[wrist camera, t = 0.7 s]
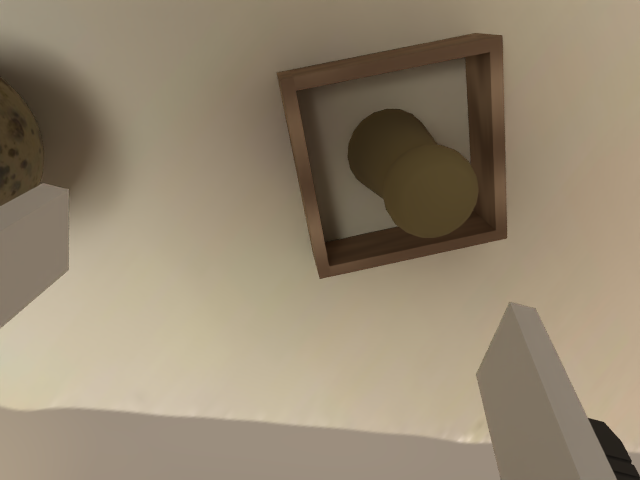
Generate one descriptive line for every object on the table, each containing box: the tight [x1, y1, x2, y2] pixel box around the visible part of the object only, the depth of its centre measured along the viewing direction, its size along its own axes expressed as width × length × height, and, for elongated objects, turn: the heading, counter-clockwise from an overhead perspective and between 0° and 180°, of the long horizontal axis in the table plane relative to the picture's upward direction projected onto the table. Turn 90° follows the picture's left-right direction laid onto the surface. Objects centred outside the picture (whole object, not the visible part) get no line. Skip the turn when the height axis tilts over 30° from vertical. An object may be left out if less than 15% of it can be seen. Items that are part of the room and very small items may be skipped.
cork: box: [348, 109, 479, 238], centre depth 32 cm, size 6×6×11 cm
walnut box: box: [277, 33, 507, 279], centre depth 35 cm, size 14×14×4 cm
